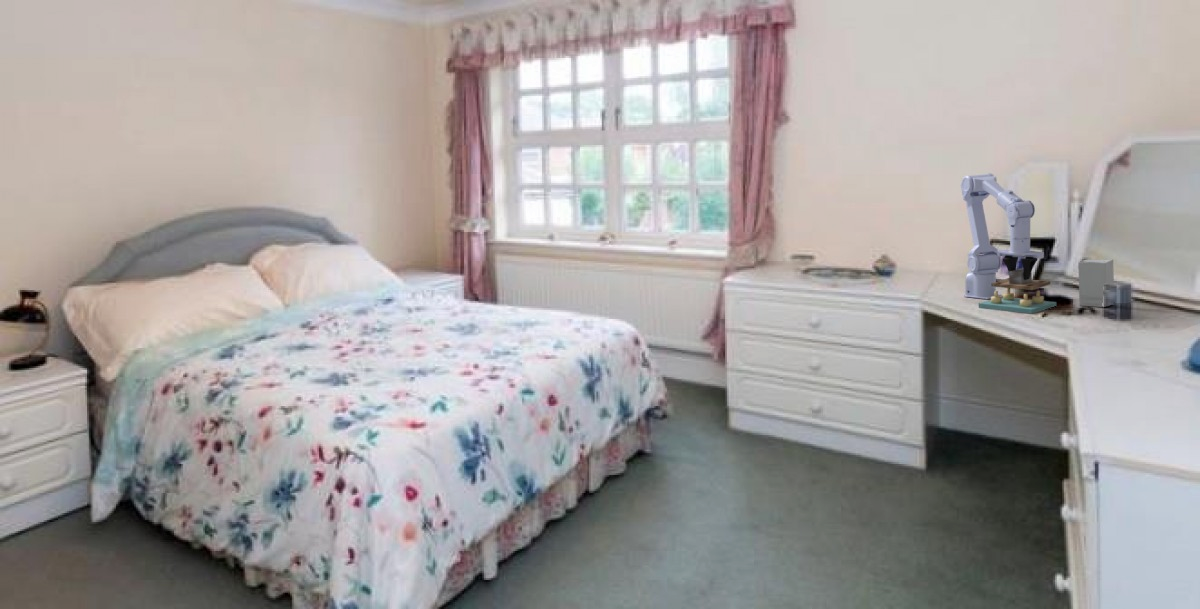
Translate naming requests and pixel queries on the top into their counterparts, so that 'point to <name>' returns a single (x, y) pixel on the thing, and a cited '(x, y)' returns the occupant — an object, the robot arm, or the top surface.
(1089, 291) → the skincare box
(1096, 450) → the top surface
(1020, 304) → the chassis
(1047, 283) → the board
